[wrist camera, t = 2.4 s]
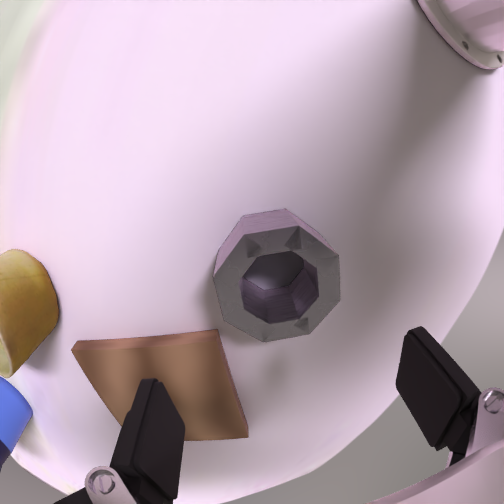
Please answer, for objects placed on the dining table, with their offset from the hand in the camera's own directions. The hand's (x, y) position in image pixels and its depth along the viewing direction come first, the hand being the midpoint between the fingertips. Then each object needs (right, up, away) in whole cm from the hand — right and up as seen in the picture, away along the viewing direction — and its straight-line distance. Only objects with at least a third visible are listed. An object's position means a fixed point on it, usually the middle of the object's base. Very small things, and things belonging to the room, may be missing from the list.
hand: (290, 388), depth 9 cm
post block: (-10, -9, +15) cm, 20 cm away
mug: (-24, +2, +10) cm, 26 cm away
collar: (0, +4, +10) cm, 11 cm away
